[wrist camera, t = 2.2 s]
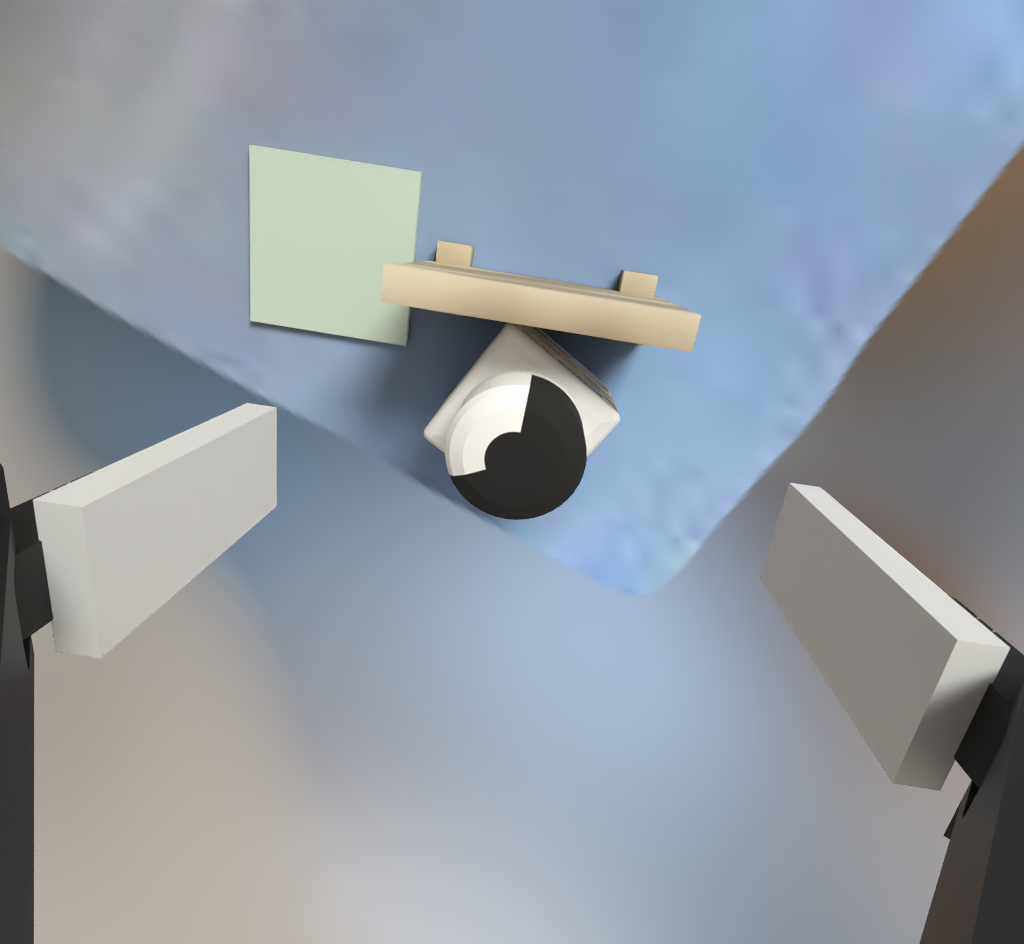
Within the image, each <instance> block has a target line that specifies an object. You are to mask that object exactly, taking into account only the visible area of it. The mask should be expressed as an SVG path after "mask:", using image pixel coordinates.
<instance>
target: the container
mask: <svg viewBox="0 0 1024 944" xmlns="http://www.w3.org/2000/svg"><path fill="white" fill-rule="evenodd" d="M619 421H620V415H619V413H618V410H617V408H616V406H615V403H614V401H613V398H612V396H611V394H610V391H609V389H608V387H607V386H606V385H605V384H604V383H603V382H602V381H601V380H599V379H598V378H597V377H596V376H595V375H594V374H592V373H591V372H590V371H589V370H588V369H587V368H585V367H584V366H583V365H582V364H581V363H579V362H578V361H577V360H576V359H575V358H574V357H572V356H571V355H570V354H569V353H568V352H567V351H565V350H564V349H563V348H562V347H561V346H560V345H558V344H557V343H556V342H555V341H554V340H552V339H551V338H550V337H549V336H548V335H547V334H545V333H544V332H543V331H542V330H541V329H540V328H538V327H533V326H527V325H521V324H514V323H508V322H507V323H506V324H505V326H504V327H503V328H502V329H501V331H500V332H499V333H498V335H497V336H496V337H495V338H494V340H493V341H492V342H491V343H490V345H489V346H488V347H487V348H486V350H485V351H484V352H483V353H482V355H481V356H480V357H479V358H478V360H477V361H476V362H475V363H474V365H473V366H472V367H471V368H470V370H469V371H468V372H467V373H466V375H465V376H464V377H463V378H462V380H461V381H460V382H459V384H458V385H457V386H456V387H455V389H454V390H453V391H452V392H451V394H450V395H449V396H448V397H447V399H446V400H445V401H444V403H443V404H442V406H441V407H440V408H439V410H438V411H437V413H436V414H435V415H434V417H433V418H432V420H431V421H430V422H429V424H428V425H427V427H426V428H425V430H424V437H425V438H426V439H427V440H428V441H429V442H431V443H432V444H433V445H435V446H436V447H437V448H438V449H440V450H441V451H442V452H444V453H445V459H446V465H447V469H448V472H449V475H450V477H451V479H452V481H453V483H454V485H455V486H456V488H457V489H458V491H459V492H460V493H461V494H462V496H463V497H464V498H465V499H466V500H467V501H469V502H470V503H471V504H472V505H474V506H475V507H477V508H478V509H480V510H482V511H484V512H486V513H488V514H490V515H493V516H496V517H500V518H505V519H514V520H519V519H529V518H535V517H538V516H541V515H544V514H546V513H548V512H551V511H553V510H554V509H556V508H557V507H559V506H560V505H562V504H563V503H564V502H565V501H566V500H567V499H568V498H569V497H570V496H571V495H572V494H573V493H574V491H575V489H576V488H577V486H578V485H579V483H580V481H581V479H582V476H583V473H584V470H585V466H586V459H587V457H588V455H589V454H590V453H591V452H592V451H593V450H594V449H595V448H596V447H597V446H598V445H599V444H600V443H601V441H602V440H603V439H604V438H605V437H606V436H607V435H608V434H609V433H610V432H611V431H612V430H613V429H614V427H615V426H616V425H617V424H618V423H619Z"/></svg>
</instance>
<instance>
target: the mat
mask: <svg viewBox="0 0 1024 944" xmlns="http://www.w3.org/2000/svg"><path fill="white" fill-rule="evenodd" d="M249 166H250V321H255V322H261V323H267V324H273V325H279V326H285V327H292V328H298V329H304V330H310V331H316V332H322V333H329V334H335V335H341V336H347V337H353V338H359V339H366V340H372V341H378V342H384V343H390V344H397V345H403V346H407V342H408V331H409V319H410V308H411V307H409V306H403V305H397V304H391V303H384V302H381V292H382V277H383V264H393V263H407V262H415V251H416V239H417V228H418V216H419V205H420V193H421V182H422V173H421V172H417V171H411V170H404V169H398V168H392V167H386V166H380V165H373V164H367V163H361V162H355V161H348V160H342V159H336V158H330V157H323V156H317V155H311V154H305V153H298V152H292V151H286V150H280V149H274V148H267V147H261V146H255V145H249Z"/></svg>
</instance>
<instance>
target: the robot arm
mask: <svg viewBox="0 0 1024 944" xmlns="http://www.w3.org/2000/svg"><path fill="white" fill-rule="evenodd" d="M276 415H277V414H276V407H269V406H263V405H256V404H249V403H247V404H245V405H242V406H240V407H238V408H236V409H233V410H231V411H229V412H227V413H225V414H222V415H220V416H218V417H215V418H213V419H211V420H209V421H207V422H204V423H202V424H200V425H198V426H196V427H193V428H191V429H189V430H187V431H185V432H182V433H180V434H178V435H176V436H173V437H171V438H169V439H167V440H164V441H162V442H160V443H158V444H155V445H153V446H151V447H149V448H147V449H145V450H142V451H140V452H138V453H136V454H133V455H131V456H129V457H127V458H124V459H122V460H120V461H118V462H116V463H113V464H111V465H109V466H107V467H104V468H102V469H100V470H98V471H95V472H91V473H89V474H87V475H84V476H82V477H80V478H78V479H75V480H73V481H71V482H70V483H69V484H64V485H62V486H60V487H58V488H55V489H54V490H53V491H51V492H47V493H44V494H42V495H40V496H38V497H35V498H33V499H31V500H29V501H26V502H24V503H22V504H20V505H17V506H15V507H13V508H11V509H10V507H9V500H8V494H7V488H6V482H5V476H4V470H3V467H2V465H1V464H0V944H34V651H33V645H32V639H31V635H32V634H33V633H35V632H36V631H38V630H39V629H40V628H42V627H43V626H45V625H46V624H47V623H49V622H50V621H51V624H52V630H53V637H54V644H55V650H56V652H60V653H68V654H73V655H79V656H86V657H92V658H99V659H101V658H102V657H103V656H104V655H105V654H107V653H108V652H109V651H110V650H111V649H112V648H114V647H115V646H116V645H117V644H118V643H119V642H120V641H121V640H123V639H124V638H125V637H126V636H127V635H128V634H130V633H131V632H132V631H133V630H134V629H135V628H137V627H138V626H139V625H140V624H141V623H142V622H143V621H145V620H146V619H147V618H148V617H149V616H150V615H152V614H153V613H154V612H155V611H156V610H157V609H158V608H160V607H161V606H162V605H163V604H164V603H165V602H167V601H168V600H169V599H170V598H171V597H172V596H174V595H175V594H176V593H177V592H178V591H179V590H180V589H182V588H183V587H184V586H185V585H186V584H187V583H188V582H189V581H191V580H192V579H193V578H194V577H195V576H197V575H198V574H199V573H200V572H201V571H202V570H203V569H205V568H206V567H207V566H208V565H209V564H210V563H212V562H213V561H214V560H215V559H216V558H217V557H219V556H220V555H221V554H222V553H223V552H224V551H225V550H227V549H228V548H229V547H230V546H231V545H232V544H234V543H235V542H236V541H237V540H238V539H239V538H240V537H242V536H243V535H244V534H245V533H246V532H247V531H248V530H250V529H251V528H252V527H253V526H254V525H255V524H257V523H258V522H259V521H260V520H261V519H262V518H264V516H266V515H267V514H268V513H269V512H270V511H272V510H273V509H274V508H275V507H276V506H277V454H276V453H277V450H276V449H277V445H276V444H277V442H276V441H277V427H276V426H277V423H276V422H277V421H276V419H277V418H276V417H277V416H276ZM760 580H761V581H762V583H763V584H764V586H765V587H766V589H767V591H768V592H769V594H770V595H771V597H772V598H773V600H774V601H775V603H776V604H777V606H778V607H779V609H780V611H781V612H782V614H783V615H784V617H785V618H786V620H787V621H788V623H789V624H790V626H791V628H792V629H793V630H794V632H795V634H796V635H797V637H798V638H799V640H800V641H801V643H802V644H803V646H804V648H805V649H806V651H807V652H808V653H809V655H810V657H811V658H812V660H813V661H814V663H815V664H816V666H817V668H818V669H819V671H820V672H821V674H822V675H823V677H824V678H825V680H826V681H827V683H828V685H829V686H830V688H831V689H832V690H833V692H834V693H835V695H836V697H837V698H838V700H839V701H840V703H841V704H842V706H843V708H844V709H845V711H846V712H847V714H848V715H849V717H850V718H851V720H852V721H853V723H854V725H855V726H856V727H857V729H858V731H859V732H860V734H861V735H862V737H863V738H864V740H865V742H866V743H867V745H868V746H869V748H870V749H871V751H872V752H873V754H874V755H875V757H876V758H877V760H878V762H879V763H880V765H881V766H882V768H883V769H884V771H885V772H886V774H887V775H888V777H889V778H890V780H891V782H892V783H895V784H902V785H908V786H914V787H921V788H927V789H934V790H941V788H942V786H943V784H944V782H945V780H946V778H947V776H948V774H949V772H950V769H951V767H952V766H953V763H954V761H955V760H956V761H957V762H958V764H959V765H960V766H961V767H962V768H963V770H964V771H965V772H966V773H967V775H968V776H969V777H970V778H971V780H972V781H971V783H970V785H969V787H968V789H967V791H966V793H965V794H964V797H963V798H962V800H961V802H960V804H959V806H958V808H957V810H956V812H955V814H954V816H953V818H952V820H951V822H950V824H949V826H948V828H947V830H946V832H945V834H944V836H945V837H947V838H949V839H950V842H949V846H948V848H947V852H946V855H945V859H944V862H943V865H942V869H941V872H940V876H939V879H938V883H937V886H936V889H935V893H934V896H933V899H932V903H931V907H930V910H929V913H928V916H927V920H926V923H925V927H924V931H923V934H922V937H921V940H920V944H1024V655H1023V654H1021V653H1020V652H1019V651H1018V650H1017V649H1016V648H1014V647H1013V646H1012V645H1011V644H1010V643H1008V642H1007V641H1006V640H1005V639H1004V638H1003V637H1001V636H1000V635H999V634H998V633H995V632H992V630H993V629H992V628H991V627H989V626H988V625H987V624H986V623H985V622H983V621H982V620H981V619H977V616H976V615H975V614H974V613H973V612H971V611H970V610H969V609H968V608H967V607H965V606H964V605H963V604H962V603H961V602H959V601H958V600H957V599H955V598H953V597H951V596H950V595H948V594H946V593H945V592H944V591H942V590H941V589H940V588H939V587H938V586H936V585H935V584H934V583H933V582H932V581H930V580H929V579H928V578H927V577H926V576H925V575H923V574H922V573H921V572H920V571H919V570H917V569H916V568H915V567H914V566H913V565H911V564H910V563H909V562H908V561H907V560H906V559H904V558H903V557H902V556H901V555H900V554H899V553H897V552H896V551H895V550H894V549H893V548H891V547H890V546H889V545H888V544H887V543H886V542H884V541H883V540H882V539H881V538H880V537H878V536H877V535H876V534H875V533H874V532H872V531H871V530H870V529H869V528H868V527H867V526H865V525H864V524H863V523H862V522H861V521H859V520H858V519H857V518H856V517H855V516H854V515H852V514H851V513H850V512H849V511H848V510H846V509H845V508H844V507H843V506H842V505H840V504H839V503H838V502H837V501H836V500H835V499H833V498H832V497H831V496H830V495H828V494H827V493H826V492H825V491H824V490H823V489H822V488H820V487H815V486H807V485H801V484H794V483H789V486H788V489H787V493H786V496H785V499H784V502H783V505H782V509H781V512H780V515H779V518H778V522H777V525H776V528H775V531H774V535H773V538H772V541H771V545H770V547H769V551H768V554H767V557H766V561H765V564H764V567H763V570H762V573H761V577H760Z"/></svg>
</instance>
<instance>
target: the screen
mask: <svg viewBox="0 0 1024 944" xmlns="http://www.w3.org/2000/svg"><path fill="white" fill-rule="evenodd" d="M473 251H474V246H469V245H463V244H457V243H450V242H444V241H438V243H437V253H436V261H420V262H407V263H393V264H383V277H382V292H381V302H384V303H391V304H397V305H403V306H409V307H415V308H422V309H428V310H431V311H436V312H442V313H448V314H454V315H460V316H464V315H465V316H471V317H477V318H483V319H490V320H496V321H502V322H508V323H514V324H521V325H527V326H533V327H539V328H545V329H551V330H558V331H564V332H570V333H576V334H582V335H589V336H595V337H601V338H607V339H610V340H615V341H621V342H627V343H634V344H640V345H643V344H644V345H650V346H657V347H663V348H669V349H675V350H681V351H688V352H692V350H693V346H694V342H695V338H696V334H697V330H698V326H699V322H700V319H701V315H699V314H697V313H694V312H692V311H689V310H687V309H685V308H682V307H680V306H678V305H675V304H673V303H671V302H668V301H666V300H664V299H661V298H659V297H654V293H655V289H656V285H657V280H658V276H655V275H649V274H643V273H637V272H631V271H624V270H622V273H621V278H620V283H619V288H618V291H616V290H610V289H604V288H598V287H592V286H585V285H579V284H573V283H567V282H560V281H554V280H548V279H542V278H536V277H529V276H523V275H517V274H511V273H505V272H498V271H492V270H486V269H480V268H474V267H472V260H473Z"/></svg>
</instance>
